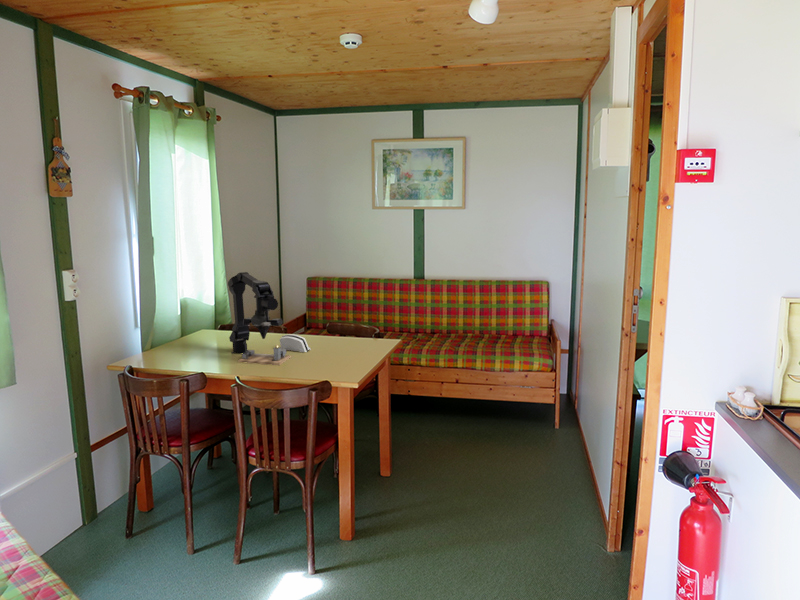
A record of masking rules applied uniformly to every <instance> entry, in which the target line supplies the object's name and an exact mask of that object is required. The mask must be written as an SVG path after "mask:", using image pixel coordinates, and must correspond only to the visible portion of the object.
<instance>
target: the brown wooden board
mask: <svg viewBox="0 0 800 600" xmlns="http://www.w3.org/2000/svg"><path fill="white" fill-rule="evenodd" d="M269 354H270V353H269ZM270 355H273V354H270ZM291 357H292V356H291V355H290V354H289V355H288V354H286V355H285V358H281V359H280V360H279V361H278V360H274V358H271V357H254V356H248V358H247V359H242V357H241V358H240V359H238V360H237V363H238V362H247V363H246V364H252V363H259V364H258V365H268V364H272V365H271V366H281V365H282V364H283V362H284V363H285V362H287V361H288V360H290V359H292V358H291ZM289 358H290V359H289ZM286 360H287V361H286Z"/></svg>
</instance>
